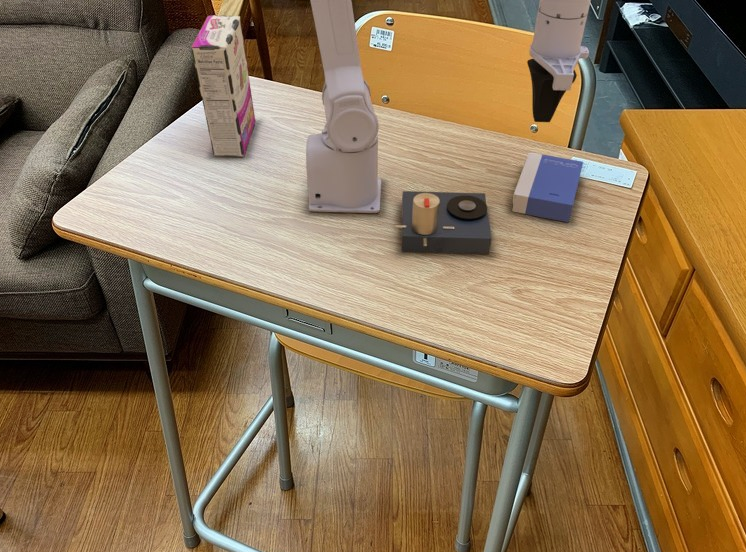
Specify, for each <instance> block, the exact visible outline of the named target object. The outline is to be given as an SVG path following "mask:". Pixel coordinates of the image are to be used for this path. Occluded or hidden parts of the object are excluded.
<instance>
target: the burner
mask: <svg viewBox="0 0 746 552" xmlns="http://www.w3.org/2000/svg"><path fill="white" fill-rule="evenodd" d="M486 204H487V202H486V203H485V202H484V201H483V200H481V199H479V198H477V197H474V196H468V195H462V196H456V197H454V198H452V199H450V200H449V201H448V203H447V212H448V213H449V215H450V216H452V217H453V218H455V219H458V220H461V221H476V220H479V219H481V218H483V217H484V216H485V215H486V213H487V211H488V205H486Z"/></svg>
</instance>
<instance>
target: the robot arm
mask: <svg viewBox="0 0 746 552" xmlns="http://www.w3.org/2000/svg"><path fill="white" fill-rule="evenodd" d="M309 1H310V6H311V10H312V15H313V16H312V17H313V21H314V26H315V31H316V37H317V43H318V47H319V53H320V58H321V64H322V68H323V74H324V85H323V87H322V91H321V100H322V104H323V105H322V106H323V107H324V114H325V115H324V116H325V120H326V124H325V125H324V128H323V129H322V131H321V133H316V134H308V136H307V139H306V145H305V146H306V147H305V167H306V168H305V169H306V184H307V194H308V210H309V211H310V212H319V213H320V212H323V213H324V212H325V213H357V214H362V213H363V214H378V213H380V209H381V195H382V194H381V192H382V179H381V178H379V177H378V176H379V173H378V172H379V166H378V165H379V129H380V128H379V127H380V125H379V119H378V116H377V115H376V113H375V110H374V106H373V102H372V98H371V97H372V94H371V89H370V86H369V83H368V82H367V81H366V80H365V78H364V75H363V69H362V63H361V56H360V50H359V49H360V48H359V42H358V35H357V30H356V24H355V23H356V21H355V16H354V9H353V2H352V0H309ZM591 2H592V1H591V0H539V3H538V9H537V14H536V20H535V24H534V25H535V26H534V31H533V37H532V42H531V44H530V46H529V51H528V53H529V56H530V57H531V58H529V59H528V60H527V62H526V63H527V67H528V70H529V73H530V80H531V90H532V95H531V96H532V99H531V100H532V104H531V105H532V117H533V121H534V122H535V123H551V121H552V119H553V117H554V115H555V113H556V110H557V108H558V106H559V104H560V102H561V100H562V98H563V96H564V95H565V94H566V92H567V91H571V89H572V86H573V84H574V83H575V81H576V79H577V76H578V74H577V72H576V70H575V68H576V66H577V65H578V62H579V61H580V59H587V58H589V54H590V50H589V49H588V47H587V46H584V45H582V41H583V37H584V32H585V27H586V23H587V19H588V15H589V10H590V5H591Z"/></svg>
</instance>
